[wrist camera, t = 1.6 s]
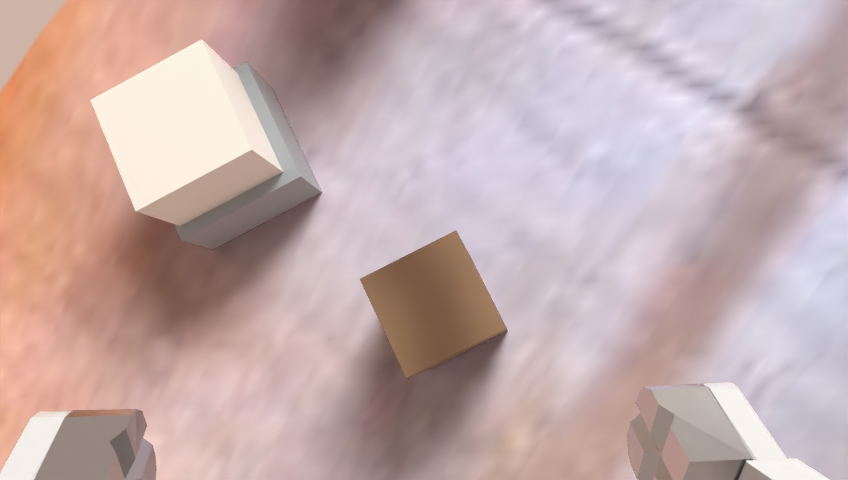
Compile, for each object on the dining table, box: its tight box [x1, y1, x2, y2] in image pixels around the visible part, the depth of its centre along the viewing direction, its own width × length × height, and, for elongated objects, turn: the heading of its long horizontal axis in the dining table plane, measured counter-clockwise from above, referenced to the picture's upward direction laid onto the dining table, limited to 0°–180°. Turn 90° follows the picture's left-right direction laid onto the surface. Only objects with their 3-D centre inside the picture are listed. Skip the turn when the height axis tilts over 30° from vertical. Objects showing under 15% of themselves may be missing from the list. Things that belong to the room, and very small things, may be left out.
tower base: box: [174, 62, 322, 250], centre depth 36 cm, size 7×7×4 cm
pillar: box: [360, 231, 508, 378], centre depth 31 cm, size 4×4×8 cm
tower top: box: [91, 39, 283, 226], centre depth 32 cm, size 6×6×4 cm
